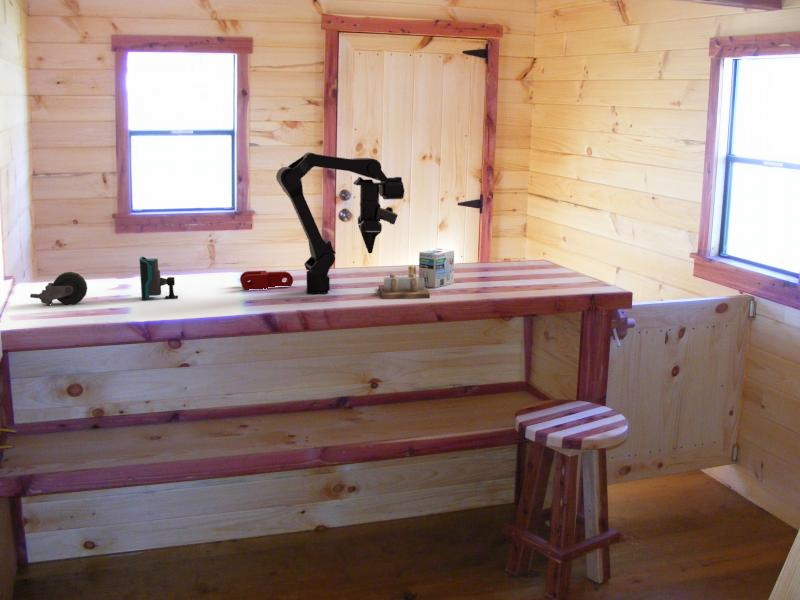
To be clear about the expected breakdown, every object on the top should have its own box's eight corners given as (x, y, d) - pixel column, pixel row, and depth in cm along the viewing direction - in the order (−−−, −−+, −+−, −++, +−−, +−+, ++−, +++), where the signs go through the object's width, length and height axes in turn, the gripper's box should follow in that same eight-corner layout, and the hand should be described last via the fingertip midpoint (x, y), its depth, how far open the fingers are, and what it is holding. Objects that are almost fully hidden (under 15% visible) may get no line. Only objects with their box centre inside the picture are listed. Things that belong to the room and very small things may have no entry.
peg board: (382, 298, 268) (382, 281, 266) (378, 288, 281) (378, 272, 280) (429, 297, 269) (430, 280, 268) (423, 288, 283) (423, 271, 282)
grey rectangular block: (423, 288, 277) (423, 276, 276) (424, 290, 274) (424, 278, 273) (383, 288, 276) (383, 277, 275) (384, 290, 273) (384, 279, 272)
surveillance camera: (175, 258, 262) (139, 259, 260) (177, 299, 264) (141, 300, 263) (176, 255, 267) (141, 256, 265) (178, 295, 270) (143, 296, 268)
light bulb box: (435, 288, 283) (435, 254, 281) (417, 285, 287) (418, 252, 285) (454, 283, 291) (455, 250, 289) (437, 280, 295) (437, 247, 293)
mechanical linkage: (241, 291, 277) (241, 275, 276) (240, 287, 284) (239, 271, 282) (294, 289, 280) (293, 273, 279) (291, 285, 287) (291, 269, 286)
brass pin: (408, 286, 286) (408, 267, 285) (407, 284, 288) (407, 266, 287) (416, 286, 286) (416, 267, 285) (415, 284, 289) (415, 265, 287)
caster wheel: (87, 304, 262) (32, 301, 259) (88, 271, 260) (33, 268, 257) (84, 309, 256) (28, 305, 253) (85, 275, 254) (29, 271, 251)
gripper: (398, 203, 267) (398, 255, 271) (393, 196, 286) (392, 246, 289) (361, 203, 266) (360, 255, 270) (357, 196, 284) (357, 246, 288)
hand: (369, 250), depth 279 cm, fingers open, 9 cm apart
